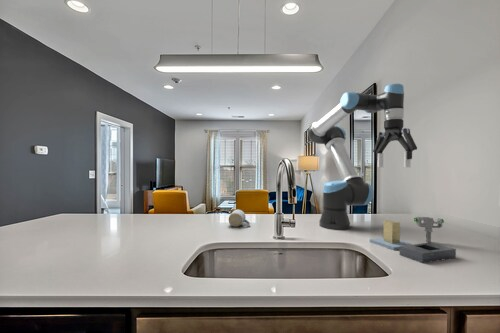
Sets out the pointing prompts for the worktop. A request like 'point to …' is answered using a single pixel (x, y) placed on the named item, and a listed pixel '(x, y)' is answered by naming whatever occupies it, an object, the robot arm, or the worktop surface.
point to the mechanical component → (428, 225)
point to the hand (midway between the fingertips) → (393, 167)
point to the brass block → (391, 232)
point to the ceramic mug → (238, 219)
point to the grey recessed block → (427, 252)
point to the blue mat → (389, 245)
